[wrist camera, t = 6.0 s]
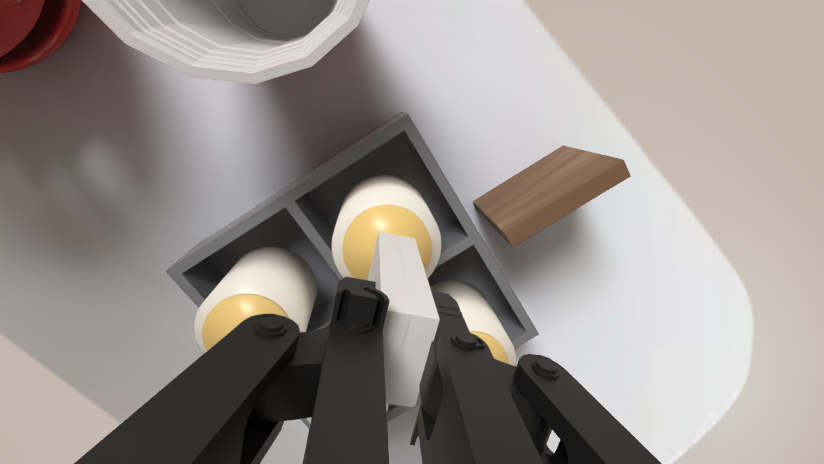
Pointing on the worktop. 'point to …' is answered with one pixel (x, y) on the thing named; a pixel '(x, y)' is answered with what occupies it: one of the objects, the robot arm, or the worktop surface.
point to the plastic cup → (232, 33)
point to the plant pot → (33, 30)
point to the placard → (549, 191)
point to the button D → (480, 318)
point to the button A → (257, 294)
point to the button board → (317, 216)
